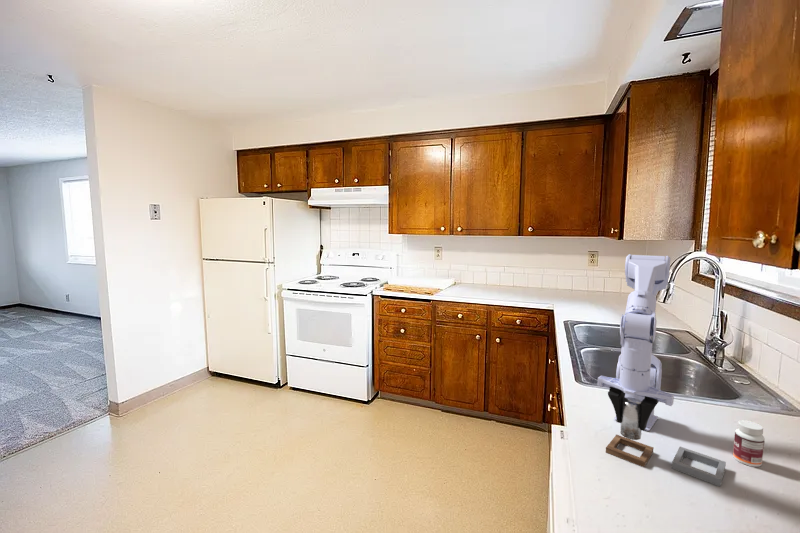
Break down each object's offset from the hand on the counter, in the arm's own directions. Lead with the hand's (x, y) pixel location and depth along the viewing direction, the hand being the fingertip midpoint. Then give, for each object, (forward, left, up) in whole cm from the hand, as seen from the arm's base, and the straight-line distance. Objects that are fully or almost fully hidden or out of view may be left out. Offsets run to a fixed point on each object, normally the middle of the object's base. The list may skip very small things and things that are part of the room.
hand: (631, 424), depth 86 cm
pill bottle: (-15, +19, -7) cm, 25 cm away
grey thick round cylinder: (0, 0, -2) cm, 2 cm away
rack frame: (-4, +12, -7) cm, 14 cm away
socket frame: (0, 0, -7) cm, 7 cm away
